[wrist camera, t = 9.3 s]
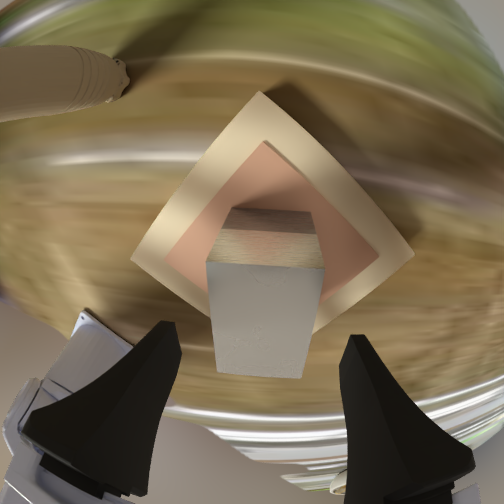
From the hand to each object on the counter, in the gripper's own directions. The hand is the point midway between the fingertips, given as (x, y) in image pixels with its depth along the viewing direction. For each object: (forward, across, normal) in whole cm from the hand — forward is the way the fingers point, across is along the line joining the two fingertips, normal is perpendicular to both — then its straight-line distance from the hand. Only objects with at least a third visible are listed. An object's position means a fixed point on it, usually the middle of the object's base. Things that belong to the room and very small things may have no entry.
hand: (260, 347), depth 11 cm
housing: (+7, 0, 0) cm, 7 cm away
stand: (+9, 0, 0) cm, 9 cm away
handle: (+10, +11, -12) cm, 19 cm away
